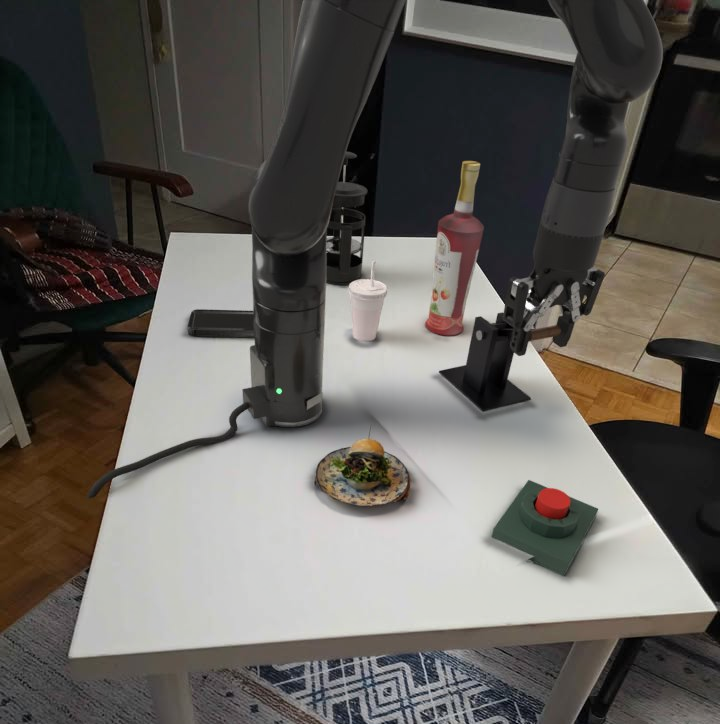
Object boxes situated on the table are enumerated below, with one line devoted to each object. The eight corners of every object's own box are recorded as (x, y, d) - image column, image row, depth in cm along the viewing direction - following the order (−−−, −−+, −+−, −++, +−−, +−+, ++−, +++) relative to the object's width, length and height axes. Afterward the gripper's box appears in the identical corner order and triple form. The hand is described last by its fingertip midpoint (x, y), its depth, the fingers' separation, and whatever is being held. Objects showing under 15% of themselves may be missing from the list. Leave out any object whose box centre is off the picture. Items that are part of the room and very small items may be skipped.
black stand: (529, 404, 99) (549, 334, 91) (481, 416, 95) (498, 344, 88) (483, 367, 107) (498, 299, 99) (437, 377, 103) (449, 308, 96)
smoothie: (378, 352, 108) (386, 270, 99) (341, 346, 109) (346, 264, 100) (385, 335, 113) (393, 256, 104) (349, 329, 114) (354, 250, 105)
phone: (192, 309, 113) (278, 311, 114) (192, 315, 114) (278, 317, 115) (186, 330, 107) (277, 331, 108) (187, 336, 108) (277, 338, 109)
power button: (560, 524, 73) (564, 513, 72) (530, 511, 74) (534, 500, 73) (570, 507, 75) (574, 496, 74) (541, 495, 77) (545, 483, 75)
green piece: (564, 576, 72) (574, 551, 69) (489, 542, 75) (496, 516, 72) (593, 521, 79) (603, 497, 76) (524, 492, 82) (532, 468, 80)
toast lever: (561, 339, 87) (560, 321, 86) (532, 345, 85) (531, 326, 84) (503, 337, 97) (502, 321, 96) (476, 343, 95) (475, 326, 94)
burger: (296, 491, 79) (296, 442, 75) (346, 445, 87) (350, 398, 83) (380, 531, 75) (386, 481, 70) (425, 478, 83) (433, 431, 78)
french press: (313, 265, 135) (316, 144, 120) (357, 265, 137) (365, 146, 122) (320, 289, 126) (324, 161, 111) (367, 288, 128) (377, 163, 113)
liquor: (471, 337, 115) (505, 168, 97) (437, 344, 112) (465, 171, 94) (448, 320, 119) (476, 155, 101) (415, 326, 116) (438, 158, 99)
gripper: (546, 240, 71) (513, 371, 82) (639, 228, 77) (597, 352, 88) (505, 218, 76) (479, 345, 87) (595, 208, 82) (560, 328, 93)
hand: (538, 348), depth 87 cm, fingers open, 6 cm apart
